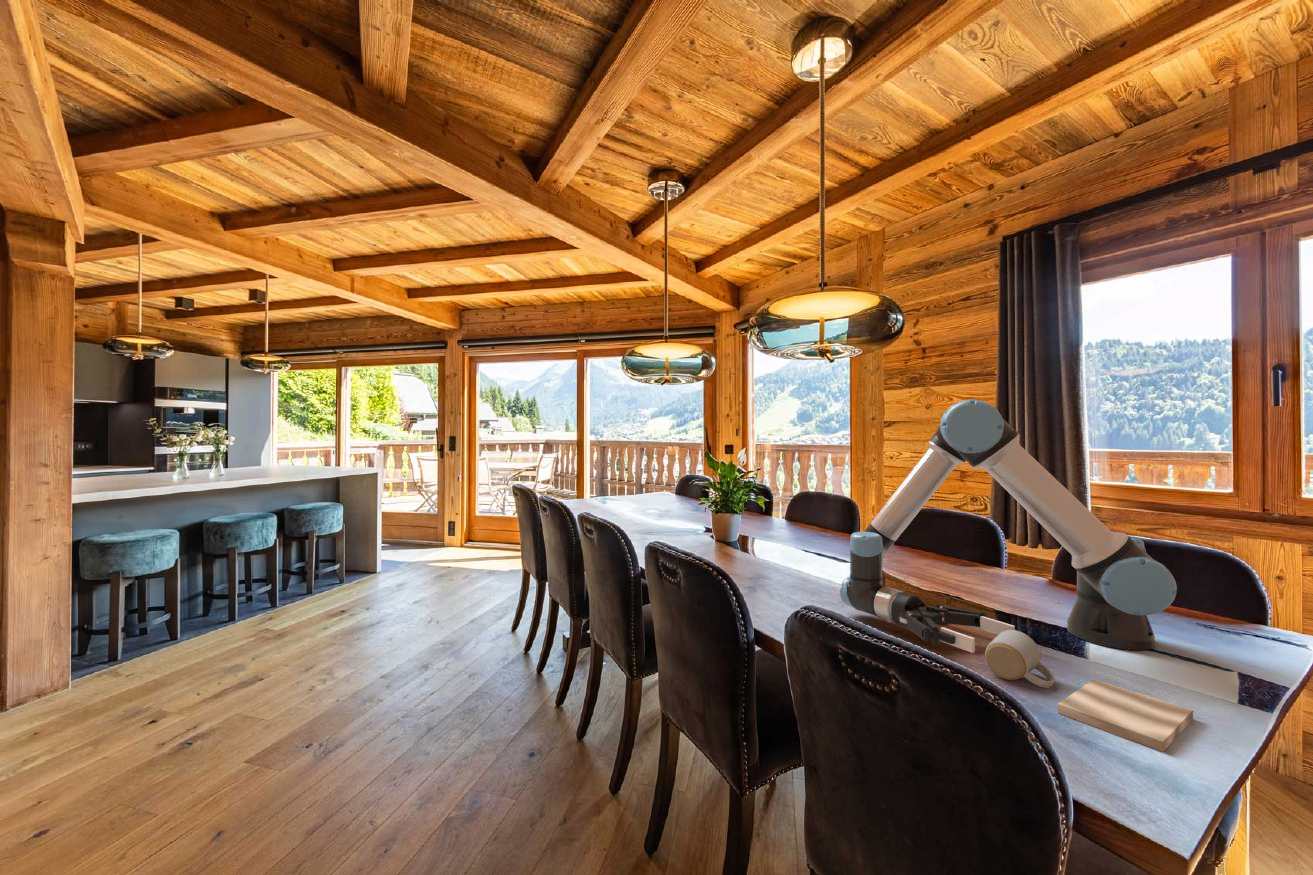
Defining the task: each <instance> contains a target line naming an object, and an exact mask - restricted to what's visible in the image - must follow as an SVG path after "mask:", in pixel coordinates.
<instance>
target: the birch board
mask: <svg viewBox="0 0 1313 875" xmlns="http://www.w3.org/2000/svg"><path fill="white" fill-rule="evenodd" d="M1057 713H1058V714H1060V715H1063V716H1065V717H1068V718H1071V719H1074V720H1077V721H1078V722H1081V723H1084V724H1087V725H1089V726H1092V727H1095V728H1097V729H1100V730H1102V731H1105V732H1109V733H1111V734H1112V735H1113V734H1114V735H1116V736H1119V737H1121V738H1124V739H1127V740H1130V741H1132V742H1135V743H1138V744H1140V745H1143V746H1146V747H1148V748H1151V749H1153V750H1156V751H1159V752H1162V753H1164V752H1165V751H1166V749H1168V747H1169V746H1170V745H1171V744H1173V741H1174V740H1176V738H1177V737H1178V736H1179V735H1180V734H1181V733H1183V731H1184V730H1185V729H1186V727H1187V726H1189V724H1190V723H1191V722H1192V721H1193V720H1194V709H1191V708H1187V707H1185V706H1182V705H1181V706H1180V705H1178V704H1175V703H1172V702H1170V701H1169V702H1168V701H1165V700H1162V699H1160V698H1156V697H1153V696H1151V695H1146V694H1143V693H1141V692H1140V693H1139V692H1136V691H1134V690H1131V689H1127V688H1124V687H1121V686H1118V685H1115V684H1112V683H1108V682H1104V681H1101V680H1098V679H1095V678H1093V679H1091V680H1090V681H1089V682H1088V683H1086V684H1084V685H1082V686H1081V687H1080V688H1079V689H1077V690H1076V691H1074V692H1073V693H1071V694H1070V695H1069V696H1067V697H1065V698H1064V699H1063V700H1060V702H1057Z"/></svg>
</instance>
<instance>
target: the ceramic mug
mask: <svg viewBox="0 0 1313 875" xmlns="http://www.w3.org/2000/svg"><path fill="white" fill-rule="evenodd" d="M1041 658H1042V657H1041V651H1040V648H1039V647H1038V644H1037V643H1036V642H1035V641H1034V640H1033V638H1031V637H1030V636H1029V635H1027V634H1026V633H1025V632H1022V631H1020V630H1016V629H1015V630H1006V631H1003V632H1001V633H1000V634H999V635H996V637H994V638H993V639H992V641H990V642H989V644H988V645H987V647H986V649H985V651H984V660H985V663H986V665H987V667H988V669H989V670H990V672H992V673H993V674H995V675H996V676H997V677H999V678H1002V679H1004V680H1006V679H1007V681H1016V680H1020V679H1022V678H1025V679H1026V680H1027V681H1028V682H1030V683H1032V684H1034V685H1036V686H1037V687H1041V688H1043V689H1045V688H1046V689H1050V688H1051V687H1052V686H1053V685H1054V683H1055V682H1056V676H1055V675H1054V674H1053V672H1052V671H1051V670H1050V669H1049V668H1048V667H1047V666H1046V665H1044V664H1043V663H1042V662H1041ZM1034 670H1037V671H1038V672H1040V673H1041V674H1042V676H1044V677H1045V678H1046V679H1047V680H1044V679H1042V678H1040V677H1038V676H1036V675H1034V674H1033V673H1032V671H1034Z"/></svg>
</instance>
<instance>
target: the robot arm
mask: <svg viewBox="0 0 1313 875" xmlns="http://www.w3.org/2000/svg"><path fill="white" fill-rule="evenodd" d="M928 445H929V447H928V449H927V450H926V451H925V453H924V454H923V455H922V456H921V457H920V459H919V460H918V462H917V463H916V464H915V465H914V466H913V468H912V469H911V470H910V472H909V473H908V474H907V476H906V477H905V478H904V479H903V480H902V482H901V484H899V485H898V487H897V488H896V490H895V491H894V493H892V495H891V497H889V499H888V500H887V502H886V503H885V504H884V505H883V506H882V508H881V509H880V511H879V512H878V513H877V514H876V516H875V517H874V518H873V519H872V521H871V522H870V524H869V525H867V527H866V528H865V529H864V530H863V531H856V532H852V533H851V534H850V541H849V542H850V543H849V562H850V563H849V567H850V573H849V576H848V577H846V578H844V579H843V580H842V581H841V586H840V587H839V596H840V598H841V601H842V602H843V603H844V604H845V605H846V606H848V607H850V608H853V609H855V610H857V611H859V612H864V613H866V614H869V615H871V616H875V617H878V618H881V619H883V620H886V621H887V623H893V624H894V623H896V625H899V626H902V627H904V628H907V630H910V631H911V633H913V634H915V635H916V636H917V637H919V638H921V639H922V641H924V642H931V643H932V644H933V645H939V644H940V642H942V643H944V644H947V645H949V646H953V647H955V648H958V649H960V650H963V651H966V652H969V653H972V654H974V653H975V651H976V648H975V647H976V642H975V641H976V638H975V637H973V636H970V635H967V634H963V633H960V632H958V631H954V630H952V629H950V628H947V627H943V626H948V625H957V626H965V627H966V626H967V627H974V628H979V629H980V630H982V631H985V632H987V633H991V634H994V635H996V636H998V635H999V634H1000V633H1001V632H1003V631H1006V630H1016V629H1015V628H1016V627H1015V625H1013V624H1009V623H1007V622H1003V621H1000V620H997V619H993V618H990V617H986V616H987V614H986V612H984V611H983V610H980V611H976V610H971V609H970V610H969V609H965V608H964V609H962V608H957V607H951V606H948V605H947V606H946V605H942V604H940V603H938V604H937V603H936V604H935V606H933V605H925V603H924V602H923V599H922V598H921V597H920V596H919V595H916V594H913V593H908V592H907V591H906V592H905V591H903V590H900V589H896V588H893V587H889V586H885V585H883V560H884V557H885V555H886V554H887V552H888V551H889V550H890V549H891V548H892V547H893V545H894V544H895V542H896V541H897V540H898V538H899V537H900V536H901V534H903V533H904V531H905V530H906V529H907V528H908V526H909V525H910V524H911V523H912V521H913V520H914V518H916V516H917V515H918V513H919V512H920V511H921V510H922V509H923V508H924V506H925V505H926V504H927V503H928V501H929V500H930V499H931V498H932V496H934V494H935V492H937V490H938V489H939V488H940V487H941V485H942V484H943V483H944V482H945V480H946V479H947V478H948V477H949V475H950V474H951V473H952V472H953V470H955V468H957V466H958V465H962V464H965V463H966V462H967V463H968V464H969V465H970V466H971V468H973V469H981V470H985V471H986V472H987V473H988V474H989V475H990V476H991V477H992V478H993V479H994V480H995V481H996V482H997V483H998V484H999V485H1000V486H1001V487H1002V488H1003V489H1004V490H1005V491H1007V493H1008V494H1010V496H1011V497H1012V498H1013V499H1014V500H1016V502H1018V503H1019V505H1021V506H1022V508H1024V509H1025V510H1026V511H1027V513H1029V514H1030V515H1031V516H1032V517H1033V518H1034V519H1035V520H1036V521H1037V522H1038V523H1039V524H1040V525H1041V526H1042V527H1043V528H1044V529H1045V530H1046V531H1047V533H1049V534H1050V535H1051V536H1052V537H1053V538H1054V539H1055V540H1056V541H1057V542H1058V543H1059V544H1060V545H1061V546H1062V547H1063V548H1064V549H1065V550H1066V551H1067V552H1068V553H1070V555H1071V566H1072V567H1073V568H1074V569H1075V570H1076V599H1075V602H1074V604H1073V606H1072V608H1071V611H1070V612H1069V616H1068V617H1067V620H1066V623H1067V624H1066V625H1067V626H1066V627H1067V628H1066V629H1067V632H1068V633H1069V634H1070V635H1072V636H1074V637H1076V638H1078V639H1081V640H1083V641H1087V642H1089V643H1092V644H1096V645H1098V646H1099V645H1100V646H1105V647H1109V648H1113V649H1114V648H1115V649H1120V650H1130V651H1131V650H1132V651H1148V650H1152V649H1154V648H1155V646H1156V642H1155V641H1156V636H1155V633H1154V631H1153V628H1152V626H1151V623H1150V620H1149V618H1148V616H1150V615H1155V614H1158V613H1161V612H1162V611H1164V610H1167V608H1169V606H1170V605H1172V604H1173V602H1174V601H1175V598H1176V595H1177V591H1178V587H1177V583H1176V580H1175V578H1174V576H1173V574H1172V573H1171V572H1170V570H1169V569H1168V568H1167V567H1166V566H1165V565H1164V564H1163V563H1160V562H1159V561H1158V560H1155V559H1154V558H1152V556H1150V555H1149V554H1148V553H1147V552H1146V551H1147V550H1146V548H1145V543H1144V541H1143V540H1142V539H1139V538H1131V536H1129V535H1128V534H1126V533H1125V532H1118V531H1111V529H1109V527H1107V526H1106V525H1105V524H1104V523H1103V522H1102V520H1100V519H1099V518H1098V517H1097V516H1095V515H1094V514H1093V513H1092V512H1091V510H1090V509H1088V508H1087V507H1086V506H1085V505H1084V504H1083V503H1082V502H1081V501H1080V500H1079V499H1078V498H1076V497H1075V495H1073V493H1071V492H1070V491H1069V490H1068V489H1067V488H1066V487H1065V486H1064V485H1063V484H1062V483H1061V482H1059V481H1058V479H1056V478H1055V477H1054V475H1052V473H1050V472H1049V471H1048V470H1047V469H1046V468H1045V467H1044V466H1043V465H1042V464H1040V462H1039V461H1037V459H1035V458H1034V457H1033V456H1032V455H1031V454H1030V453H1029V452H1028V451H1027V450H1026V449H1025V448H1024V447H1023V446H1022V445H1021V444H1020V433H1019V432H1018V431H1017V430H1016V429H1015V428H1013V426H1011V425H1010V424H1009V423H1008V422H1007V421H1006V420H1005V419H1004V418H1003V416H1002V414H1001V413H1000V411H999V410H998V409H997V408H996V407H995V406H994V405H992V403H991V404H990V402H987V401H983V400H980V399H973V398H971V399H964V400H960V401H958V402H955V403H954V404H953V405H951V406H949V407H948V409H946V410H945V411H944V413H943V415H942V417H941V419H940V423H939V426H938V427H937V429H936V431H935V433H934V434H933V435H932V437H931V438H930V439H929V440H928ZM938 625H939V626H941V627H938Z"/></svg>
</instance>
